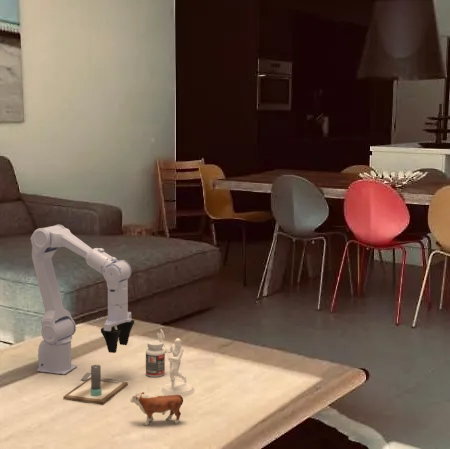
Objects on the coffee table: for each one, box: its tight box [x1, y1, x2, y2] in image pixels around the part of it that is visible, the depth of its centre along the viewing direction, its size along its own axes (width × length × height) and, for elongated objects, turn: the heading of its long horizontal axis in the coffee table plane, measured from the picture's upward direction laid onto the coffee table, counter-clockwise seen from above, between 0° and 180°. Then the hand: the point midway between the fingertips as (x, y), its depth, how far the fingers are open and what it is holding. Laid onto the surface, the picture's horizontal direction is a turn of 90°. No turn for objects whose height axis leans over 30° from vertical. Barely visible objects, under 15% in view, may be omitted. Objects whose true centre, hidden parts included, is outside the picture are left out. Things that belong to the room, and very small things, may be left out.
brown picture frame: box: [62, 376, 129, 406], centre depth 212 cm, size 12×16×1 cm
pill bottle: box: [145, 339, 166, 378], centre depth 227 cm, size 6×6×10 cm
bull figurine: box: [130, 391, 184, 427], centre depth 192 cm, size 4×13×8 cm, turn 95°
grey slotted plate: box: [80, 372, 91, 382], centre depth 224 cm, size 4×6×1 cm, turn 173°
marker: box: [90, 364, 102, 396], centre depth 207 cm, size 3×3×8 cm
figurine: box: [156, 328, 195, 397], centre depth 213 cm, size 10×10×18 cm
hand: (118, 348), depth 220 cm, fingers open, 7 cm apart
